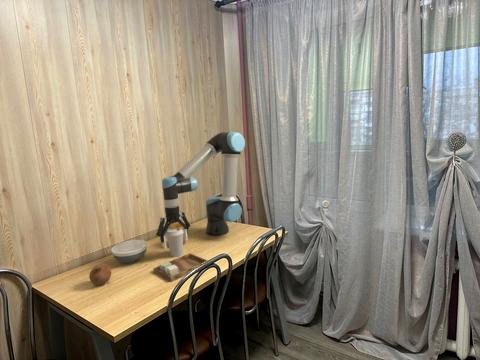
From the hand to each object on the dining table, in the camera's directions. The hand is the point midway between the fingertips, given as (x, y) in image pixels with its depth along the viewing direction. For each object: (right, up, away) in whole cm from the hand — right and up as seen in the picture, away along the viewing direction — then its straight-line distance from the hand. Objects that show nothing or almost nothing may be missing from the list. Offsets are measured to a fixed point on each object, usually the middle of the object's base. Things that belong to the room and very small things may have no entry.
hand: (175, 243), depth 170 cm
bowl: (-24, -9, 0) cm, 26 cm away
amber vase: (-1, -4, +18) cm, 18 cm away
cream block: (+4, -10, -22) cm, 25 cm away
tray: (+6, -9, -15) cm, 19 cm away
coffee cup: (+1, -7, +2) cm, 7 cm away
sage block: (-1, -10, -18) cm, 21 cm away
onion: (-29, -14, -24) cm, 40 cm away
